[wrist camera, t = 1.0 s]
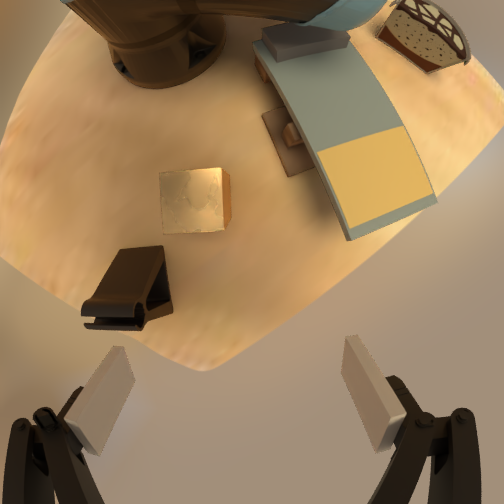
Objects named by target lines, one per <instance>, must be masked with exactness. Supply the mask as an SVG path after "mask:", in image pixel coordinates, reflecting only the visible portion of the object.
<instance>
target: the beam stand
mask: <svg viewBox="0 0 504 504" xmlns="http://www.w3.org/2000/svg"><path fill="white" fill-rule="evenodd" d="M255 66H256V68H257V70H258V72H259V74H260V76H261V78H262V80H263V82H264V83H267V82H270V81H271V79H270V77H269V76H268V74H267V72H266V70H265V69H264V67H263V65H262V64H261V62H260V60H259V59H258V57H257V56H256V55H255ZM262 118H263V120H264V122H265V124H266V127H267V129H268V131H269V134H270V136H271V138H272V140H273V143H274V145H275V147H276V150H277V152H278V155H279V157H280V159H281V162H282V164H283V167H284V169H285V171H286V174H287V176H288V177H290V176H292V175H295V174H298V173H300V172H303V171H306V170H308V169H311V168H314V167H316V166H315V164H314V162H313V160H312V158H311V156H310V153H309V151H308V149H307V147H306V145H305V143H304V141H303V139H302V137H301V135H300V133H299V131H298V129H297V127H296V125H295V123H294V121H293V119H292V117H291V115H290V114H289V112H288V110H287V108H286V106H283V107H280V108H277V109H274V110H271V111H268V112H265V113H262Z"/></svg>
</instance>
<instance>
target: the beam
mask: <svg viewBox="0 0 504 504" xmlns="http://www.w3.org/2000/svg"><path fill="white" fill-rule="evenodd" d="M349 40H350V35H349V34H348V33H347V32H346V31H336V30H331V29H326V28H321V27H316V26H311V25H308V26H299V25H295V24H294V23H292V22H288V23H283V24H279V25H274V26H270V27H266V28H262V39H261V40H258V41H254V42H252V43H253V51H254V52H255V54H256V56H257V57H258V59H259V60H260V62H261V64H262V65H263V67H264V69H265V70H266V72H267V74H268V76H269V77H270V79H271V81H272V83H273V84H274V86H275V88H276V90H277V91H278V93H279V95H280V97H281V99H282V100H283V102H284V104H285V106H286V108H287V110H288V112H289V114H290V115H291V117H292V119H293V121H294V123H295V125H296V127H297V129H298V131H299V133H300V135H301V137H302V139H303V141H304V143H305V145H306V147H307V149H308V151H309V153H310V156H311V158H312V160H313V162H314V164H315V166H316V168H317V171H318V173H319V175H320V177H321V180H322V182H323V184H324V186H325V189H326V191H327V193H328V196H329V198H330V200H331V203H332V205H333V208H334V210H335V212H336V215H337V217H338V220H339V222H340V225H341V227H342V230H343V233H344V235H345V238H346V240H347V241H352V240H355V239H357V238H359V237H362V236H364V235H366V234H369V233H371V232H373V231H376V230H378V229H380V228H382V227H385V226H387V225H389V224H392V223H394V222H396V221H398V220H401V219H403V218H405V217H407V216H410V215H412V214H414V213H416V212H418V211H421V210H423V209H425V208H427V207H429V206H431V205H433V204H436V203H437V199H436V196H435V193H434V191H433V188H432V185H431V183H430V180H429V178H428V175H427V173H426V171H425V168H424V166H423V164H422V161H421V159H420V157H419V155H418V152H417V150H416V148H415V146H414V144H413V142H412V140H411V138H410V136H409V134H408V132H407V130H406V128H405V126H404V124H403V122H402V120H401V119H400V117H399V115H398V113H397V111H396V110H395V108H394V106H393V104H392V103H391V101H390V99H389V98H388V96H387V94H386V93H385V91H384V89H383V88H382V86H381V85H380V83H379V81H378V80H377V78H376V77H375V75H374V74H373V72H372V71H371V69H370V68H369V66H368V65H367V64H366V62H365V61H364V59H363V58H362V57H361V55H360V54H359V52H358V51H357V50H356V48H355V47H354V46H353V44H352V43H351V42H350V41H349Z"/></svg>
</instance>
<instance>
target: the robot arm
mask: <svg viewBox="0 0 504 504" xmlns="http://www.w3.org/2000/svg"><path fill="white" fill-rule="evenodd" d="M60 1H61V2H62V3H64V4H66V5H67V6H68V7H69V8H70V9H72V10H73V11H74V12H75V13H76V14H77V15H79V16H80V17H81V18H82V19H83V20H84V21H85V22H87V23H88V24H89V25H90V26H91V27H92V28H93V29H94V30H96V31H97V32H98V33H99V34H100V35H101V36H102V37H103V38H105V39H106V40H107V42H108V46H109V50H110V54H111V58H112V61H113V64H114V66H115V68H116V69H117V71H118V72H119V73H120V74H121V75H122V76H123V77H125V78H126V79H127V80H128V81H130V82H131V83H133V84H135V85H137V86H140V87H144V88H153V89H158V88H167V87H172V86H176V85H179V84H182V83H184V82H187V81H189V80H191V79H193V78H194V77H196V76H198V75H199V74H201V73H202V72H204V71H205V70H206V69H207V68H208V67H209V66H211V65H212V63H213V62H214V61H215V60H216V59H217V57H218V56H219V55H220V53H221V51H222V49H223V47H224V44H225V40H226V28H225V21H224V18H223V15H236V16H248V17H258V18H266V19H273V20H280V21H286V22H292V23H294V24H295V25H299V26H308V25H311V26H316V27H321V28H326V29H331V30H336V31H348V30H351V29H354V28H357V27H360V26H362V25H363V24H365V23H366V22H368V21H369V20H370V19H371V18H373V17H374V16H375V15H376V14H377V13H378V12H379V10H380V9H381V8H382V7H383V6H384V4H385V3H386V2H387V0H60ZM341 374H342V376H343V379H344V381H345V383H346V385H347V388H348V390H349V392H350V394H351V396H352V399H353V401H354V404H355V406H356V408H357V411H358V413H359V415H360V417H361V420H362V422H363V425H364V427H365V429H366V432H367V434H368V436H369V439H370V441H371V443H372V446H373V448H374V451H375V453H379V452H382V451H386V450H389V449H390V448H391V446H392V444H393V442H394V444H395V447H396V450H395V452H394V454H393V456H392V457H391V461H390V463H389V465H388V467H387V469H386V471H385V473H384V475H383V477H382V479H381V481H380V482H379V485H378V486H377V488H376V490H375V492H374V494H373V495H372V497H371V499H370V500H369V502H368V504H408V503H409V501H410V498H411V496H412V494H413V492H414V489H415V487H416V484H417V482H418V480H419V477H420V474H421V472H422V469H423V466H424V463H425V461H426V458H427V456H431V474H430V486H429V496H428V504H481V468H480V454H479V445H478V437H477V430H476V423H475V417H474V414H473V413H472V412H471V411H470V410H469V409H467V408H458V409H456V410H454V411H453V413H452V414H451V416H448V417H440V418H435V417H434V416H433V415H432V414H430V413H428V412H423V411H422V410H421V408H420V407H419V405H418V404H417V402H416V401H415V399H414V398H413V396H412V395H411V393H410V392H409V390H408V389H407V388H406V386H405V384H404V383H403V381H402V380H401V379H399V378H398V377H396V376H395V375H393V376H390V377H384V375H383V373H382V372H381V370H380V369H379V367H378V366H377V364H376V363H375V361H374V359H373V358H372V356H371V355H370V353H369V352H368V350H367V348H366V347H365V345H364V344H363V342H362V341H361V339H360V338H359V336H358V335H353V336H346V337H345V345H344V353H343V361H342V369H341ZM134 383H135V378H134V375H133V372H132V370H131V367H130V364H129V361H128V358H127V355H126V352H125V350H124V347H121V346H113V347H112V348H111V350H110V351H109V353H108V354H107V355H106V357H105V358H104V360H103V361H102V363H101V364H100V365H99V367H98V368H97V370H96V371H95V372H94V374H93V375H92V377H91V378H90V380H89V381H88V383H87V384H86V385H85V387H81V386H80V387H79V388H78V389H76V390H75V391H74V392H73V394H72V395H71V397H70V398H69V399H68V401H67V403H66V404H65V405H64V407H63V408H62V410H61V411H60V412H59V414H58V415H57V416H56V415H55V413H54V412H53V410H52V409H51V408H48V407H42V408H40V409H38V410H37V411H35V413H34V414H33V420H34V421H35V423H36V424H37V425H31V423H30V422H29V420H28V419H26V418H20V419H17V420H16V421H15V422H14V423H13V425H12V428H11V433H10V438H9V443H8V449H7V456H6V463H5V471H4V481H3V498H2V504H55V496H54V490H55V493H56V496H57V499H58V502H59V504H105V503H104V501H103V499H102V497H101V495H100V493H99V491H98V489H97V487H96V485H95V482H94V480H93V478H92V475H91V473H90V471H89V468H88V466H87V463H86V461H85V458H84V455H83V454H82V452H81V450H82V448H83V447H84V448H85V450H86V451H87V452H88V453H90V454H93V455H97V456H100V455H101V453H102V451H103V448H104V446H105V444H106V442H107V439H108V437H109V435H110V433H111V431H112V429H113V426H114V424H115V422H116V420H117V418H118V416H119V414H120V412H121V410H122V407H123V405H124V403H125V401H126V399H127V397H128V395H129V393H130V391H131V389H132V387H133V385H134Z"/></svg>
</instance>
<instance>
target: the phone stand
mask: <svg viewBox="0 0 504 504" xmlns="http://www.w3.org/2000/svg"><path fill="white" fill-rule="evenodd" d="M172 313H173V306H172V301H171V295H170V289H169V283H168V276H167V270H166V263H165V256H164V249H163V246H154V247H142V248H130V249H120V250H119V252H118V253H117V255H116V257H115V258H114V260H113V262H112V263H111V265H110V267H109V268H108V270H107V272H106V273H105V275H104V277H103V279H102V280H101V282H100V284H99V286H98V287H97V289H96V291H95V293H94V294H93V296H92V297H91V298H90V299H88V300H86V301H85V302H84V303H83V305H82V308H81V316H89V317H95V321H94V323H84V326H85V327H86V328H87V329H93V330H117V331H142V330H143V328H144V326H145V324H146V323H147V322H148V321H150V320H153V319H156V318H159V317H163V316H166V315H169V314H172Z"/></svg>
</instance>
